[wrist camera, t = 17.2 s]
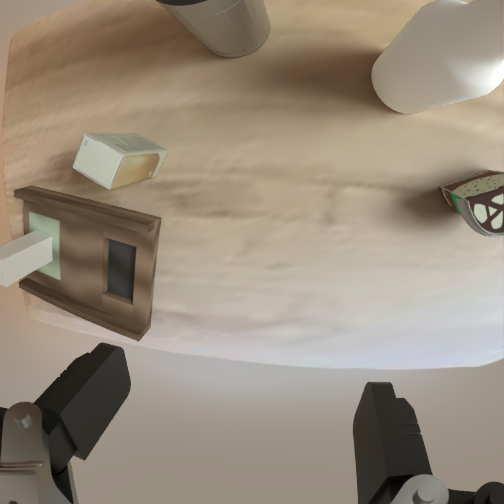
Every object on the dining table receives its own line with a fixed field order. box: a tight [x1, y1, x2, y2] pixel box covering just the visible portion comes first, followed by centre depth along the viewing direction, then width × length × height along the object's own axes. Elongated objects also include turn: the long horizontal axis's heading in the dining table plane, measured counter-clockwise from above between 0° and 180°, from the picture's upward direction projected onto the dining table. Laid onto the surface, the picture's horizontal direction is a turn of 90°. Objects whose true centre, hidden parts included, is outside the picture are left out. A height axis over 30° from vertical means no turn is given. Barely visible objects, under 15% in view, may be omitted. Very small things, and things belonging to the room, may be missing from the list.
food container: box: [440, 170, 504, 237], centre depth 31 cm, size 12×6×10 cm, turn 110°
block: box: [0, 231, 53, 287], centre depth 41 cm, size 4×4×12 cm
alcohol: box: [371, 0, 504, 114], centre depth 19 cm, size 9×9×30 cm
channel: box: [14, 186, 161, 341], centre depth 46 cm, size 19×28×4 cm
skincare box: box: [73, 133, 167, 190], centre depth 35 cm, size 6×4×12 cm
